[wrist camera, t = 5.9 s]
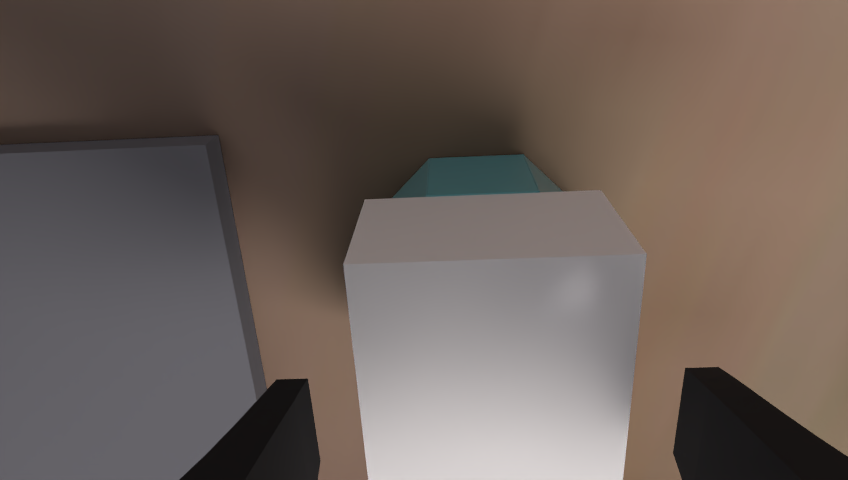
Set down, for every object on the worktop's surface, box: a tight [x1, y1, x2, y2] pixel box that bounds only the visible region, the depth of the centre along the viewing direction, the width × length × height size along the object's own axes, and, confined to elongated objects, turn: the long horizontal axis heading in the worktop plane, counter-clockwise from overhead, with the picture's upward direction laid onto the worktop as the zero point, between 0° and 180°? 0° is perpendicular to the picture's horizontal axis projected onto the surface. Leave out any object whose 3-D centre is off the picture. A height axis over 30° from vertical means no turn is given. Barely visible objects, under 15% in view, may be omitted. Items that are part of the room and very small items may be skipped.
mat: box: [0, 135, 267, 480], centre depth 19 cm, size 12×12×1 cm
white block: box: [343, 190, 647, 480], centre depth 14 cm, size 5×5×3 cm
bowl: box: [392, 154, 563, 198], centre depth 17 cm, size 6×6×3 cm
